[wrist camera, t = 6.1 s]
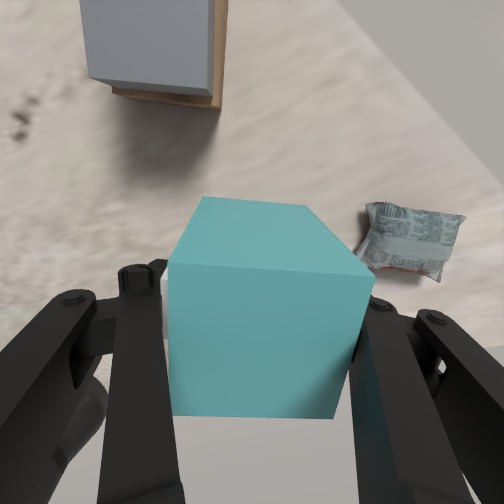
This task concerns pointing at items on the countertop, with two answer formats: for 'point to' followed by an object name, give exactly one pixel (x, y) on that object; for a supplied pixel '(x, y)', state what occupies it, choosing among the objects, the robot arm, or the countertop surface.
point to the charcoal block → (151, 44)
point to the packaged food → (408, 239)
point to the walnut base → (218, 72)
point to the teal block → (261, 312)
